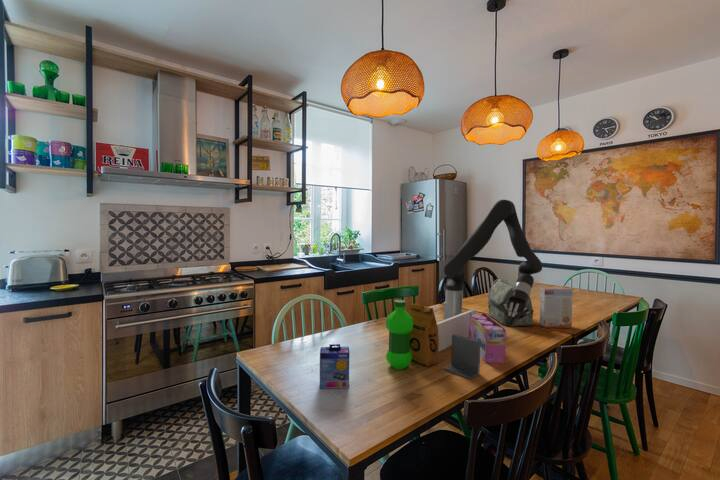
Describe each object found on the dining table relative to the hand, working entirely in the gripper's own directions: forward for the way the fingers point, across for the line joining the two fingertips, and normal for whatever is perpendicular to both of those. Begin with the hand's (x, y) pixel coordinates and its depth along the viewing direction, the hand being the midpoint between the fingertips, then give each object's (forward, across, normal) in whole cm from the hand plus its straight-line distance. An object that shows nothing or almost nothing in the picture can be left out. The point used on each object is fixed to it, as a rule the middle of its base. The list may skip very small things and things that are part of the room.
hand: (508, 325), depth 148 cm
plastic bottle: (+44, -20, -30) cm, 57 cm away
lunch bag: (-22, -16, +36) cm, 45 cm away
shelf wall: (+18, -18, -4) cm, 26 cm away
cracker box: (-26, +6, +40) cm, 48 cm away
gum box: (+17, -4, -3) cm, 18 cm away
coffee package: (+36, -17, -22) cm, 46 cm away
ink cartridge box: (+63, -26, -49) cm, 84 cm away
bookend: (+34, -1, -21) cm, 40 cm away
